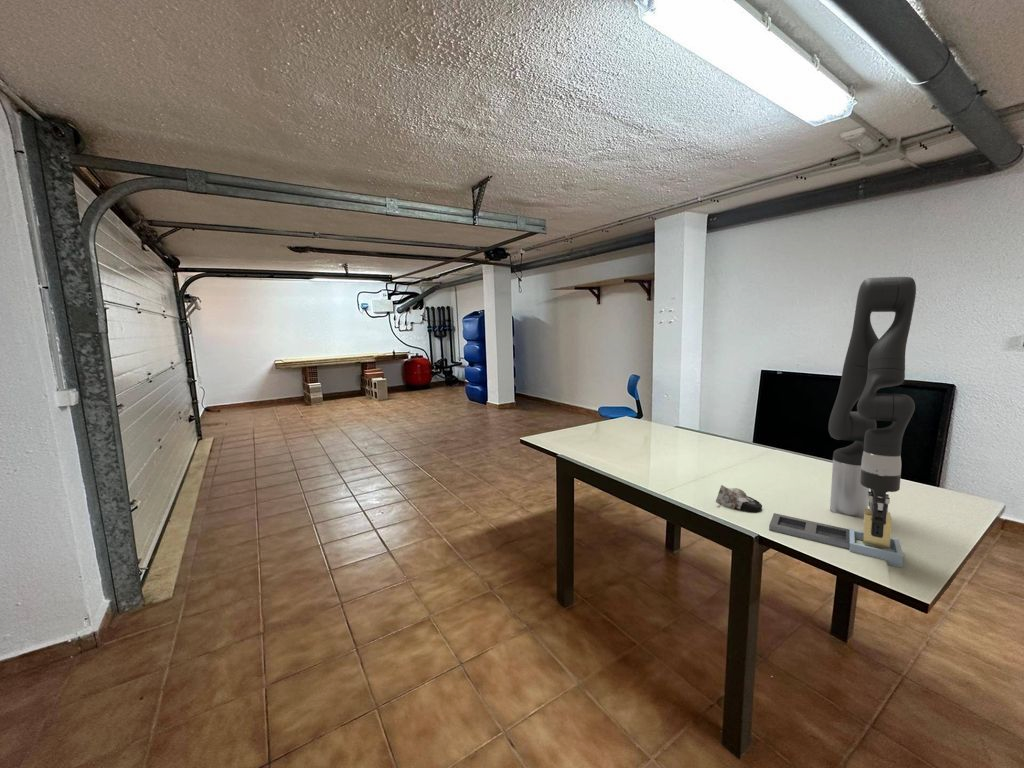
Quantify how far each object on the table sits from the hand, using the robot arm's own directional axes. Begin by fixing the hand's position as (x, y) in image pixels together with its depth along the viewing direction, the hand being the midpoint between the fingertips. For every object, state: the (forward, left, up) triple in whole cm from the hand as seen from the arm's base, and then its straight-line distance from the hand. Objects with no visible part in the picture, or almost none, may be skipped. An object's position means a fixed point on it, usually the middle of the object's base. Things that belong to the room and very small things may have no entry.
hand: (876, 532), depth 103 cm
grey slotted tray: (-1, -14, -6) cm, 15 cm away
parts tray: (0, 0, -6) cm, 6 cm away
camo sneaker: (-10, -33, -6) cm, 35 cm away
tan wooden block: (0, 0, -3) cm, 3 cm away
